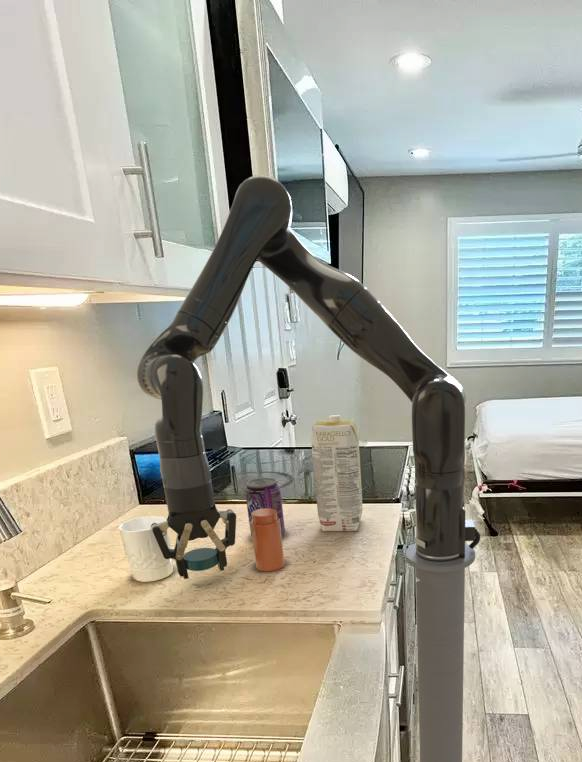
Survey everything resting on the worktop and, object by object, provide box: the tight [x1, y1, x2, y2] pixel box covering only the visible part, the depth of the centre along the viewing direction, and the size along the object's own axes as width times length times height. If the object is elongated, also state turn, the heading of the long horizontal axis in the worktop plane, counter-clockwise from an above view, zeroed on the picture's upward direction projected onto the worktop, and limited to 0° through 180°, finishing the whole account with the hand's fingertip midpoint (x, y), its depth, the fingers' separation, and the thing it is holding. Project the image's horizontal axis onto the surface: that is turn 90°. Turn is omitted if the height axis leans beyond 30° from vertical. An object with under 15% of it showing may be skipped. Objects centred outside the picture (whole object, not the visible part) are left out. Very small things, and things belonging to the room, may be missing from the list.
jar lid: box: [184, 547, 219, 572], centre depth 99 cm, size 6×6×2 cm
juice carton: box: [311, 414, 363, 532], centre depth 120 cm, size 9×8×24 cm
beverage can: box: [244, 477, 286, 537], centre depth 119 cm, size 7×7×12 cm
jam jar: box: [249, 508, 286, 572], centre depth 105 cm, size 5×5×11 cm
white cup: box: [118, 515, 174, 583], centre depth 103 cm, size 8×8×10 cm
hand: (203, 572), depth 100 cm, fingers closed on jar lid, 5 cm apart
